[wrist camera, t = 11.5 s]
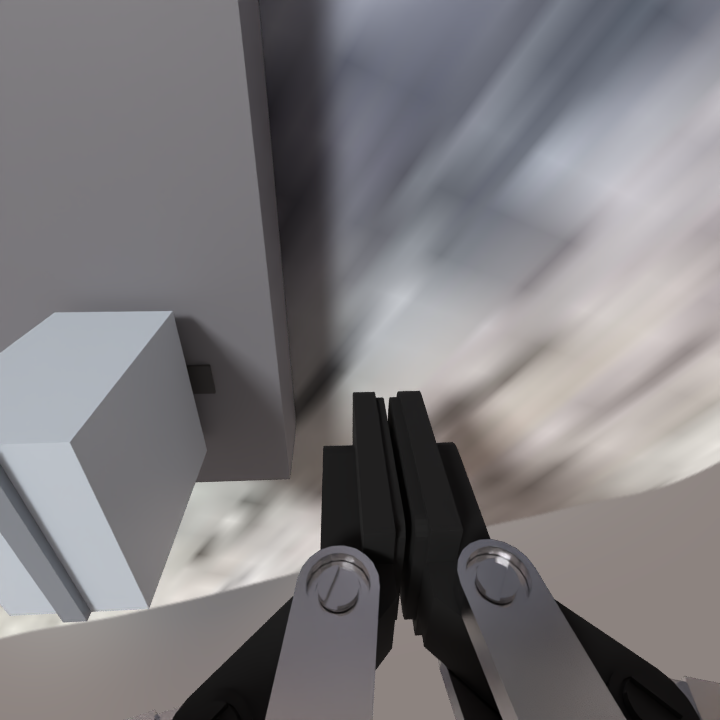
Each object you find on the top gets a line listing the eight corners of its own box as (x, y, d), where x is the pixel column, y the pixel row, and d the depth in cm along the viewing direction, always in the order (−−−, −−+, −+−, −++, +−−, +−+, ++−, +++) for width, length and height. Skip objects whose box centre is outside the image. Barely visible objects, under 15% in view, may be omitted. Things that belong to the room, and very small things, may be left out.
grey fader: (54, 312, 11) (-141, 456, 6) (172, 311, 11) (62, 451, 6) (112, 453, 13) (3, 625, 9) (206, 450, 14) (145, 618, 9)
